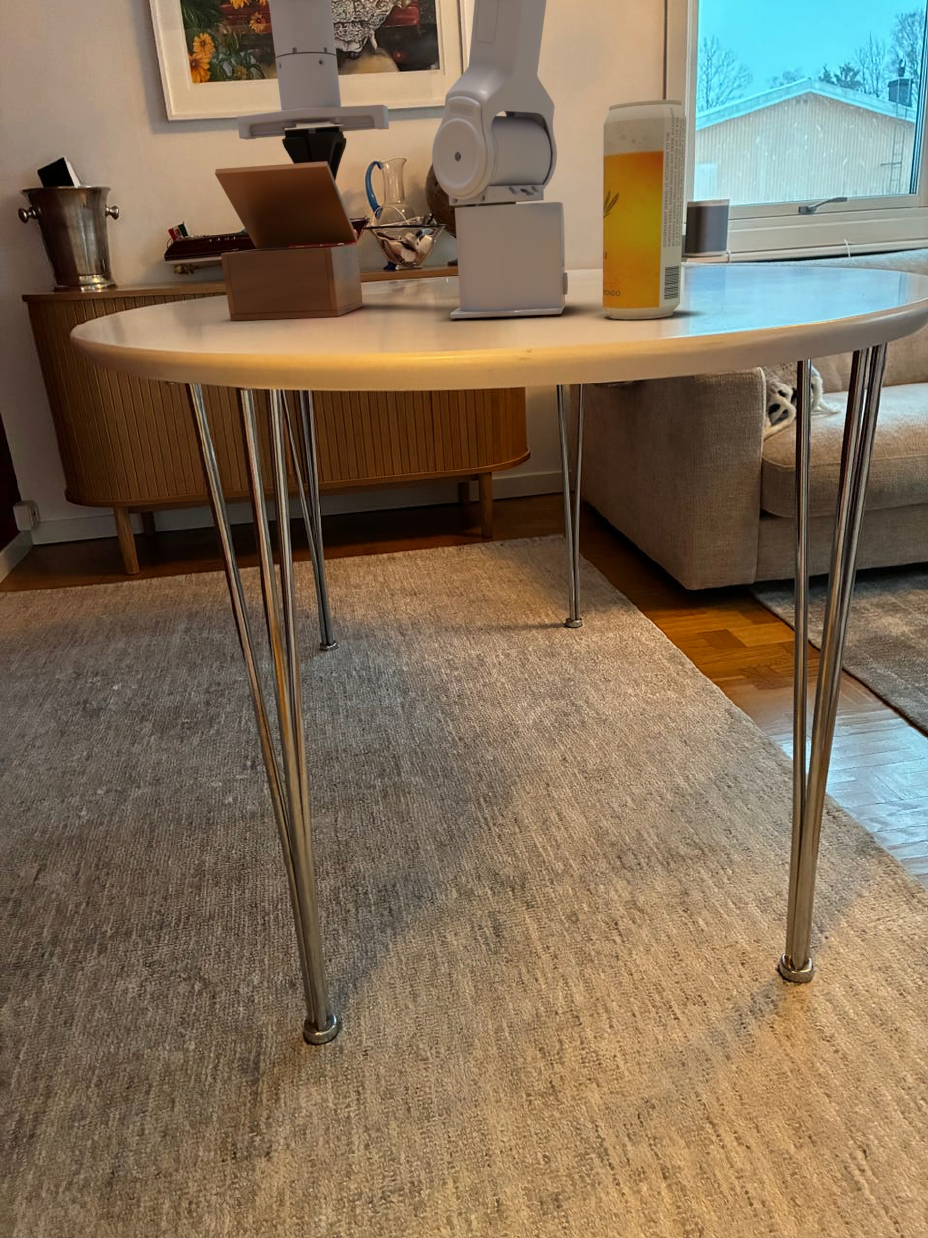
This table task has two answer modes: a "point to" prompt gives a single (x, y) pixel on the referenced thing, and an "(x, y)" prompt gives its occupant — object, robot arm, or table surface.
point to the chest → (292, 282)
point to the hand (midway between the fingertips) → (322, 215)
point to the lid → (288, 204)
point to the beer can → (643, 208)
